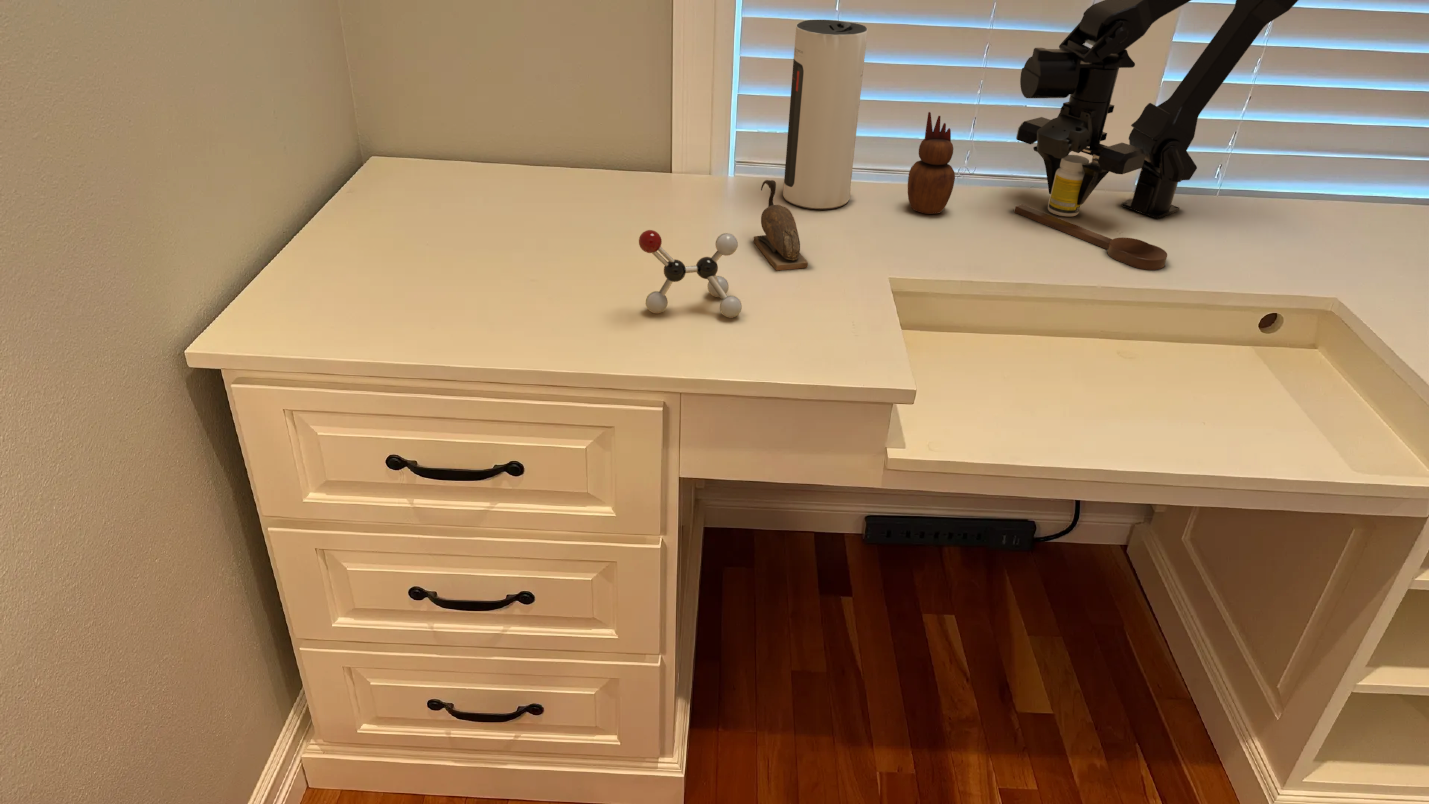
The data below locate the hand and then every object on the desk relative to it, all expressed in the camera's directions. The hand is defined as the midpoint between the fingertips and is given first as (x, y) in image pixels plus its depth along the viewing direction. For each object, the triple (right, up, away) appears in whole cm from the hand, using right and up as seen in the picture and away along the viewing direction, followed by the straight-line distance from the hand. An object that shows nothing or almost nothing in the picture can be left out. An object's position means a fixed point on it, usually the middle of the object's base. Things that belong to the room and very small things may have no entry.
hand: (1065, 199), depth 152 cm
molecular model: (-58, -20, -31) cm, 68 cm away
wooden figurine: (-22, -2, 0) cm, 22 cm away
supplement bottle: (0, -2, +1) cm, 2 cm away
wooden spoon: (0, -7, -7) cm, 10 cm away
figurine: (-46, -10, -15) cm, 49 cm away
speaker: (-38, 0, +2) cm, 38 cm away
